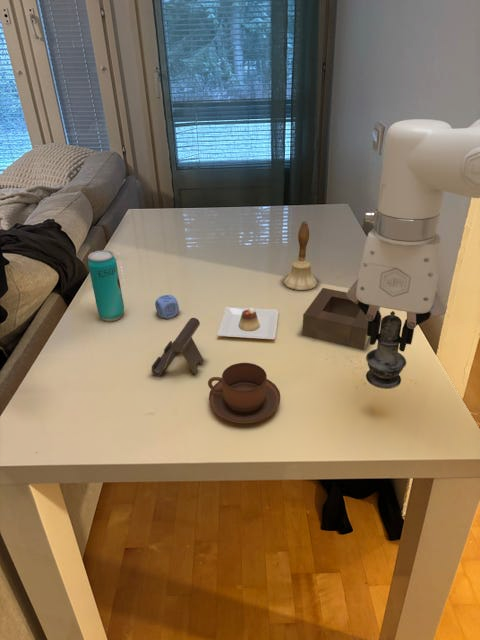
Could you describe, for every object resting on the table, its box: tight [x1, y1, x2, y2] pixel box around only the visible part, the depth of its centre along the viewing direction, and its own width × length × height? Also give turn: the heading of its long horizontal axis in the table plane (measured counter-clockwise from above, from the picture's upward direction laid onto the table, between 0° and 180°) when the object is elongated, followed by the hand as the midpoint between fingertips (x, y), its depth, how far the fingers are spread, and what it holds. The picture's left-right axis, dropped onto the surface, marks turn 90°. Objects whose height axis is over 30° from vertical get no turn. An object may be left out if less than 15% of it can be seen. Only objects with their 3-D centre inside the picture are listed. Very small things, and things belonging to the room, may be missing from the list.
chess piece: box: [365, 310, 407, 390], centre depth 69 cm, size 6×6×12 cm
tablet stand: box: [151, 317, 205, 377], centre depth 87 cm, size 9×8×8 cm
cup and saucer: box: [207, 362, 281, 424], centre depth 78 cm, size 12×12×6 cm
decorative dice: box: [154, 294, 180, 320], centre depth 105 cm, size 4×4×4 cm
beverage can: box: [87, 249, 125, 322], centre depth 101 cm, size 6×6×15 cm
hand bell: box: [283, 220, 318, 291], centre depth 114 cm, size 8×8×16 cm
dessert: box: [216, 306, 280, 340], centre depth 99 cm, size 12×12×5 cm
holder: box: [301, 287, 381, 350], centre depth 98 cm, size 13×13×5 cm
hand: (388, 342), depth 69 cm, fingers closed on chess piece, 3 cm apart
